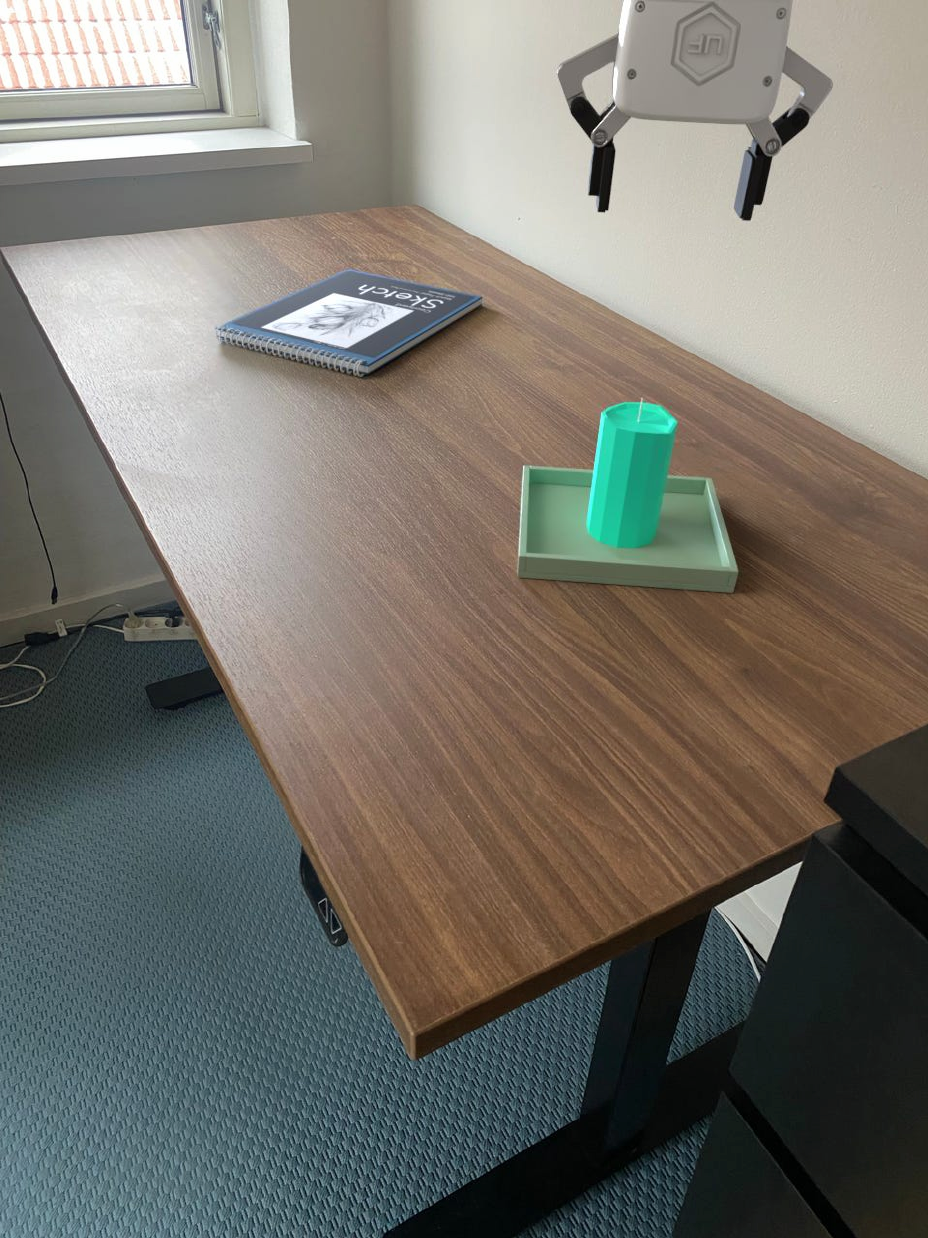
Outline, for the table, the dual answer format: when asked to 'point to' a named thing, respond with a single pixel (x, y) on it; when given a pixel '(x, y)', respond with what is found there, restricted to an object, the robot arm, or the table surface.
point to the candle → (630, 473)
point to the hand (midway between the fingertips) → (671, 211)
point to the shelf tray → (674, 559)
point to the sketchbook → (350, 321)
